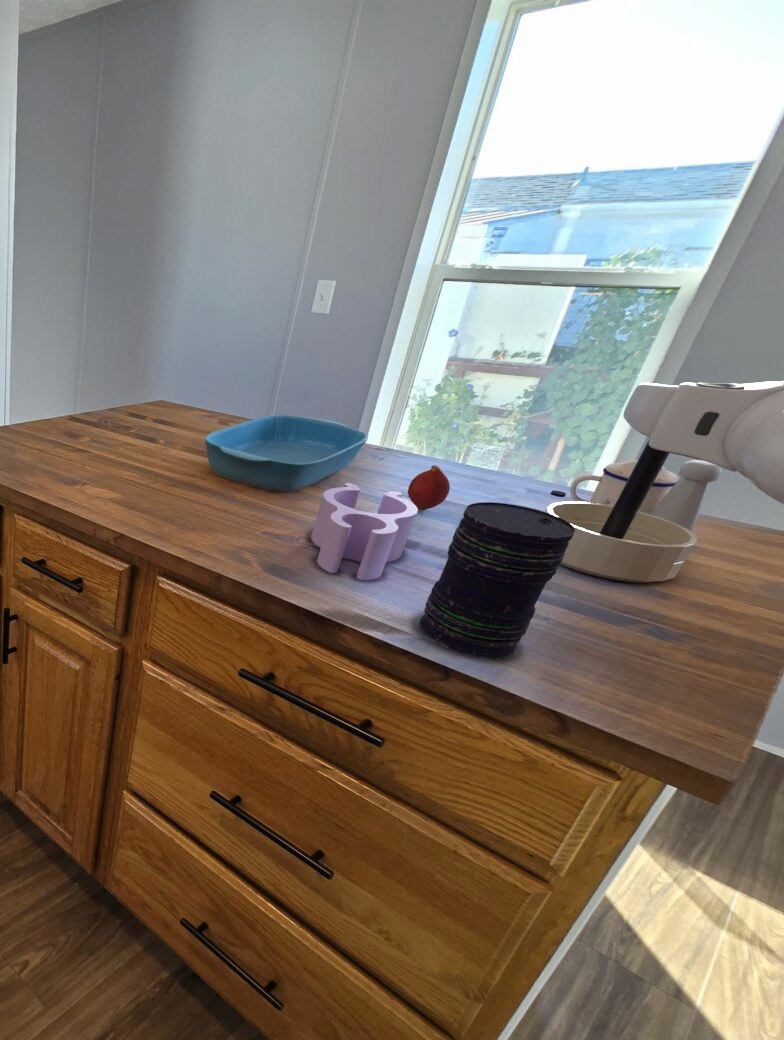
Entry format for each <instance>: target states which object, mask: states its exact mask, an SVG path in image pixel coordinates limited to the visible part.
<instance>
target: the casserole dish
mask: <svg viewBox="0 0 784 1040" xmlns="http://www.w3.org/2000/svg"><path fill="white" fill-rule="evenodd" d="M368 439H369V435H368V434H367V433H366V432H364V431H362V430H359V429H357V428H353V427H351V426H347V425H346V424H343V423H340V422H336V421H333V420H328V419H323V418H316V417H308V416H297V415H289V414H288V415H287V414H270V415H264V416H259V417H256V418H252V419H249V420H247V421H243V422H239V423H237V424H234V425H230V426H228V427H224V428H221V429H218V430H215V431H213V432H210V433H208V434H206V436H204V441H205V442H204V443H205V448H206V449H205V450H206V454H207V455H206V456H207V460H208V464H209V466H210V469H211V470H212V471H213V472H214V473H215V474H216V475H217V476H219V477H220V478H221V477H222V478H225V479H228V480H230V481H234V482H237V483H240V484H245V485H248V486H251V487H254V488H257V489H261V490H264V491H268V492H275V493H290V492H295V491H298V490H301V489H305V488H307V487H309V486H311V485H313V484H315V483H317V482H319V481H321V480H323V479H326V478H327V477H329V476H331V475H333V474H336V473H337V472H340V471H341V470H342V469H345V468H346V467H347V466H349V465H350V464H351V463H352V462H353V461H354V459H355V458H356V457H357V455H358V454H359V453H360V451H361V449H362V448H363V446H364V445H365V443H366V442H367V441H368Z"/></svg>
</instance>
